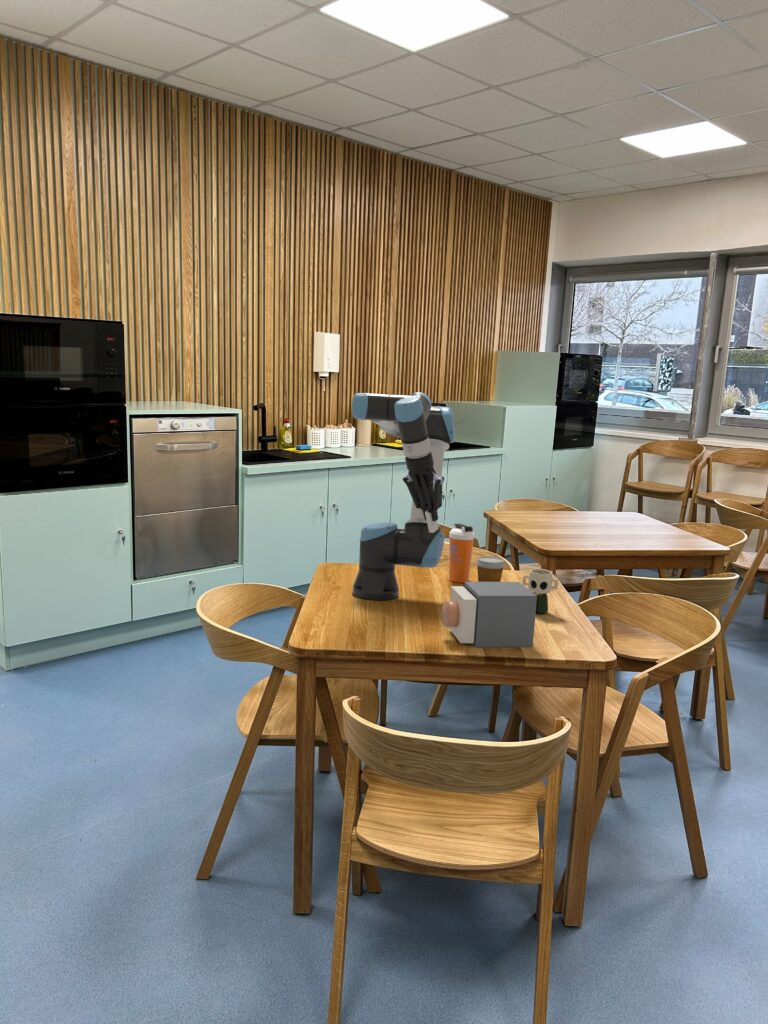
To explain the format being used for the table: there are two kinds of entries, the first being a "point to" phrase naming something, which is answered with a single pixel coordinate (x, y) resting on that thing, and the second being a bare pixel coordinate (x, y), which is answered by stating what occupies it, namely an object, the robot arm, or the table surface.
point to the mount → (503, 614)
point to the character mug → (540, 586)
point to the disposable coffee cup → (489, 569)
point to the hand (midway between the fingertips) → (433, 530)
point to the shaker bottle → (460, 553)
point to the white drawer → (460, 614)
